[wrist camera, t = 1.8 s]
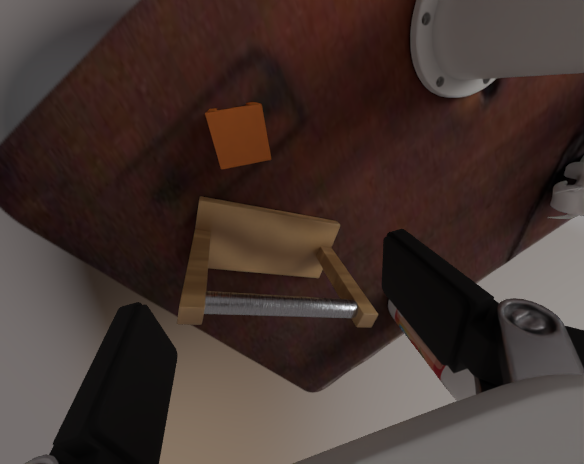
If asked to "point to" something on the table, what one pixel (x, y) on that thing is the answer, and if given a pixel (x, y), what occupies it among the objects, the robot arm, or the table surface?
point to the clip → (239, 135)
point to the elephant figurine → (570, 192)
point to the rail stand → (266, 264)
